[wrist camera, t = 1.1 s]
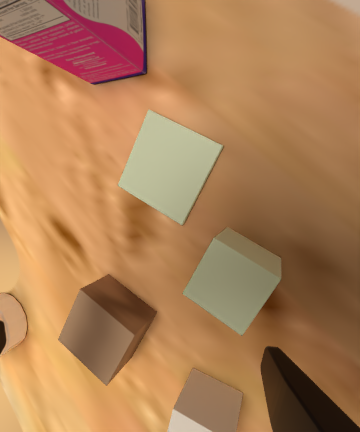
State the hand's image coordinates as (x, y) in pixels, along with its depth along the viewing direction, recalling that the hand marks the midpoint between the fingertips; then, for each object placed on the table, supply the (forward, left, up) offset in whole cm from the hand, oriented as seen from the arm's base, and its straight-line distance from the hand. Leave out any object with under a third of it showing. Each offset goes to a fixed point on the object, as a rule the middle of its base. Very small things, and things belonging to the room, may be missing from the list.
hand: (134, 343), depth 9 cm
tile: (+7, -4, -12) cm, 15 cm away
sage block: (-2, 0, -13) cm, 13 cm away
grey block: (-6, +12, -13) cm, 18 cm away
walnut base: (+5, +11, -13) cm, 18 cm away
